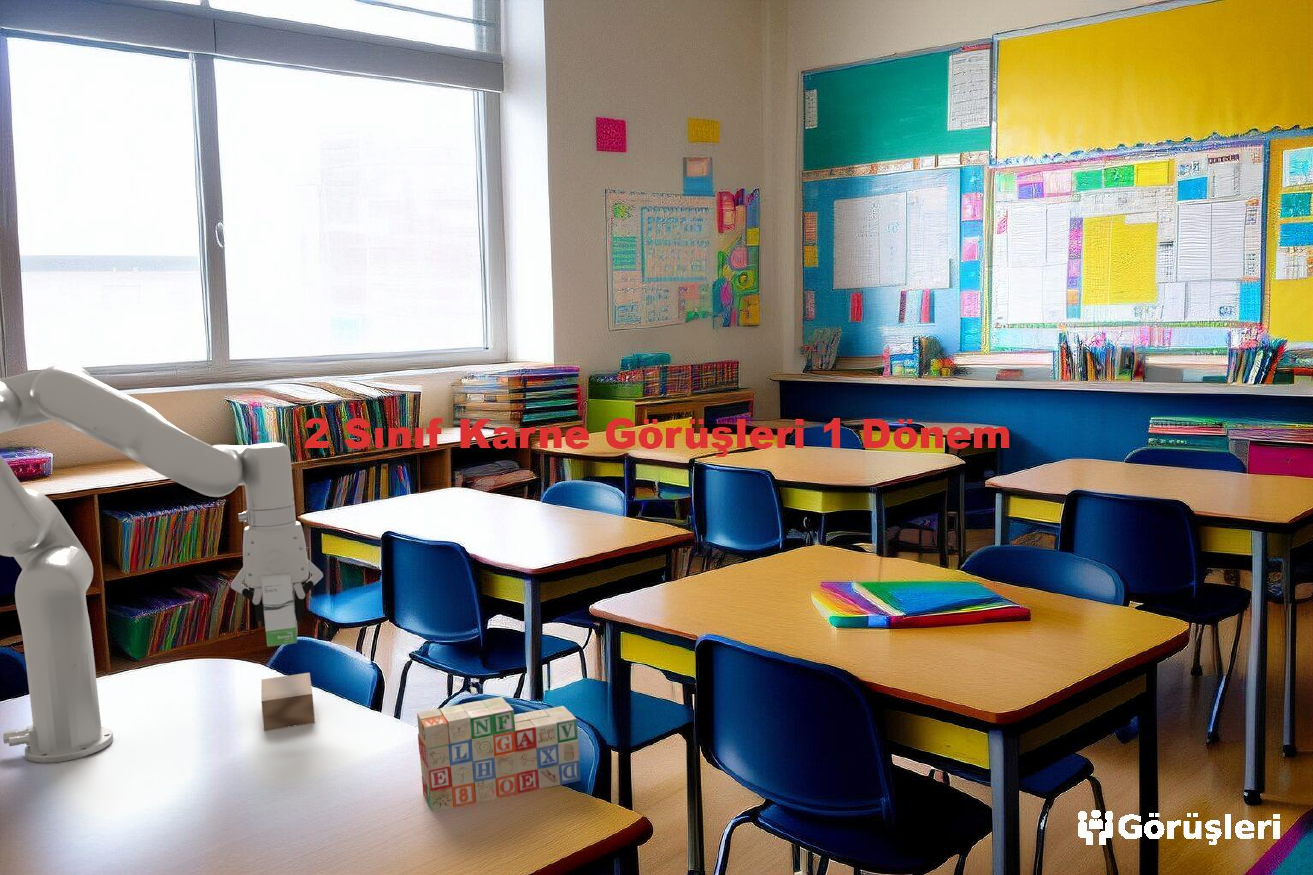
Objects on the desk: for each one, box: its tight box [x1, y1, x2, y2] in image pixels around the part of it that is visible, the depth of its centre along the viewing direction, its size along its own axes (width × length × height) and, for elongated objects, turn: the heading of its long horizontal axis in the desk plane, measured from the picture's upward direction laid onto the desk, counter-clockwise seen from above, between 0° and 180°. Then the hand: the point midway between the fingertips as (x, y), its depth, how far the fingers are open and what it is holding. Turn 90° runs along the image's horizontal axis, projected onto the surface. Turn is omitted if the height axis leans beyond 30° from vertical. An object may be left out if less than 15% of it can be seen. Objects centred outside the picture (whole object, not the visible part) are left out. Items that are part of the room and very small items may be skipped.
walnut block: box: [260, 672, 316, 732], centre depth 190 cm, size 8×12×5 cm, turn 19°
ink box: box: [260, 574, 298, 647], centre depth 188 cm, size 9×5×12 cm, turn 17°
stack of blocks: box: [416, 696, 581, 812], centre depth 156 cm, size 21×6×12 cm, turn 112°
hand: (281, 621), depth 188 cm, fingers closed on ink box, 5 cm apart
